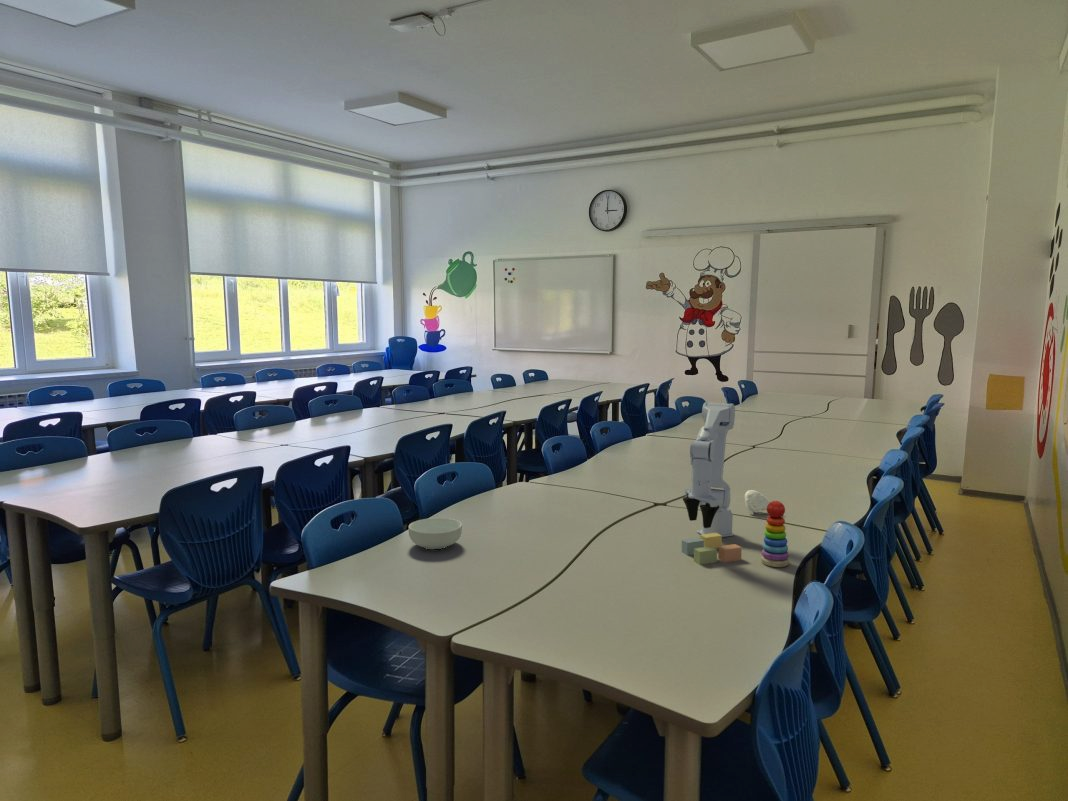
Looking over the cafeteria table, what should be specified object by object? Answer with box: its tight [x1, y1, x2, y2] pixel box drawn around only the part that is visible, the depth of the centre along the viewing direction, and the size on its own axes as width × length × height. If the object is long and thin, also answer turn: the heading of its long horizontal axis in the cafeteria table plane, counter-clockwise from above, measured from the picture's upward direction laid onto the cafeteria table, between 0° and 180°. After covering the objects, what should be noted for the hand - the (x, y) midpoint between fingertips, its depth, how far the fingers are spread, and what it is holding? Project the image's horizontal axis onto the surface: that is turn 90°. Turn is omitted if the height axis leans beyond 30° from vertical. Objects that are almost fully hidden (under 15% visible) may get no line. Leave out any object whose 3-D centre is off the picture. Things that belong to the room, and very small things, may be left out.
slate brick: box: [681, 537, 704, 556], centre depth 205 cm, size 6×3×4 cm, turn 111°
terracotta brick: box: [717, 543, 743, 563], centre depth 199 cm, size 6×3×4 cm, turn 111°
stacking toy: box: [760, 500, 790, 568], centre depth 194 cm, size 8×8×19 cm
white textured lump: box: [744, 489, 772, 516], centre depth 244 cm, size 6×8×12 cm
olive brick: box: [693, 546, 718, 566], centre depth 197 cm, size 6×3×4 cm, turn 111°
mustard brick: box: [699, 533, 723, 549], centre depth 209 cm, size 6×3×4 cm, turn 111°
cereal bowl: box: [408, 517, 463, 550], centre depth 211 cm, size 17×17×7 cm
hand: (699, 523), depth 202 cm, fingers open, 7 cm apart
